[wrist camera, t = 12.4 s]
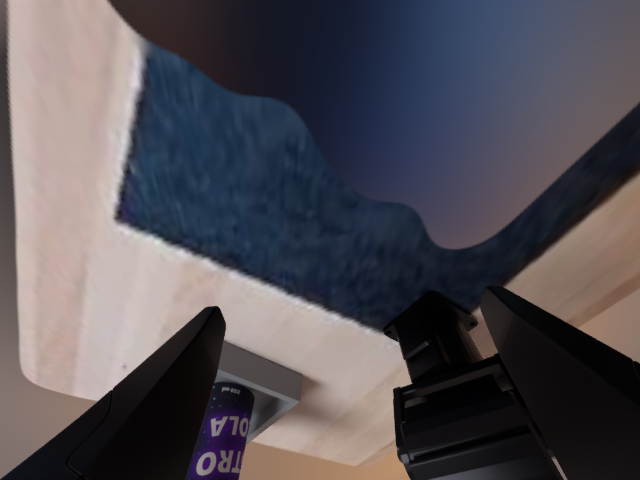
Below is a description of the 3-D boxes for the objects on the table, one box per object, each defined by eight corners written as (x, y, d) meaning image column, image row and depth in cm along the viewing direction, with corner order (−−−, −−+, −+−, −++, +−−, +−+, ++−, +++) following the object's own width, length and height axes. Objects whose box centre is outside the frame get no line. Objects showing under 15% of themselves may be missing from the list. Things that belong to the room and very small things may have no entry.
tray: (302, 374, 32) (300, 401, 29) (252, 417, 37) (247, 443, 34) (206, 333, 28) (195, 360, 26) (166, 386, 33) (153, 413, 31)
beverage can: (257, 404, 33) (227, 554, 23) (208, 401, 33) (156, 551, 23) (255, 375, 30) (221, 533, 20) (202, 372, 30) (140, 530, 20)
